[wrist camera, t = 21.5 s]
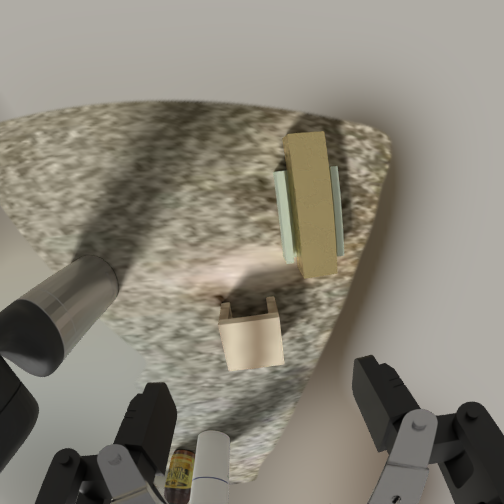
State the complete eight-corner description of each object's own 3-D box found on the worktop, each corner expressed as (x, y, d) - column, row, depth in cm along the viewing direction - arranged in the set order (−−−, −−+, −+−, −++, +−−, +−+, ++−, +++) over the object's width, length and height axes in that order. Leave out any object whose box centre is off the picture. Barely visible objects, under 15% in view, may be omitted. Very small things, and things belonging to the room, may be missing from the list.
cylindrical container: (217, 427, 51) (211, 529, 27) (236, 442, 52) (236, 538, 28) (191, 435, 51) (177, 530, 27) (210, 450, 53) (203, 540, 29)
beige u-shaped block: (230, 345, 45) (228, 371, 38) (221, 303, 42) (218, 325, 36) (279, 339, 45) (284, 364, 38) (274, 296, 42) (279, 317, 36)
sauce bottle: (193, 448, 53) (183, 517, 34) (201, 460, 55) (194, 525, 36) (167, 447, 53) (154, 514, 34) (176, 460, 55) (166, 523, 36)
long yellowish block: (297, 267, 40) (304, 278, 36) (282, 138, 35) (287, 134, 31) (328, 262, 40) (337, 273, 36) (315, 135, 35) (324, 131, 31)
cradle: (283, 256, 41) (286, 263, 37) (273, 171, 37) (276, 171, 34) (336, 248, 41) (344, 255, 37) (329, 166, 37) (337, 165, 34)
